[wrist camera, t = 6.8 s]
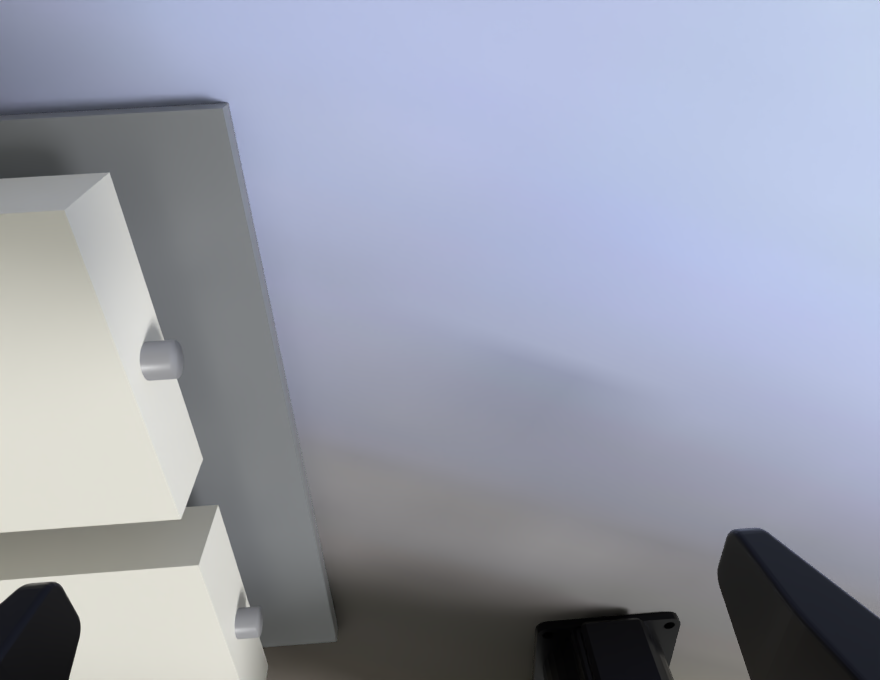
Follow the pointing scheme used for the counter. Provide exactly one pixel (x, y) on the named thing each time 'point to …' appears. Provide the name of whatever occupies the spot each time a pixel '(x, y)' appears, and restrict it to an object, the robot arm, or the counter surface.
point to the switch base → (207, 330)
